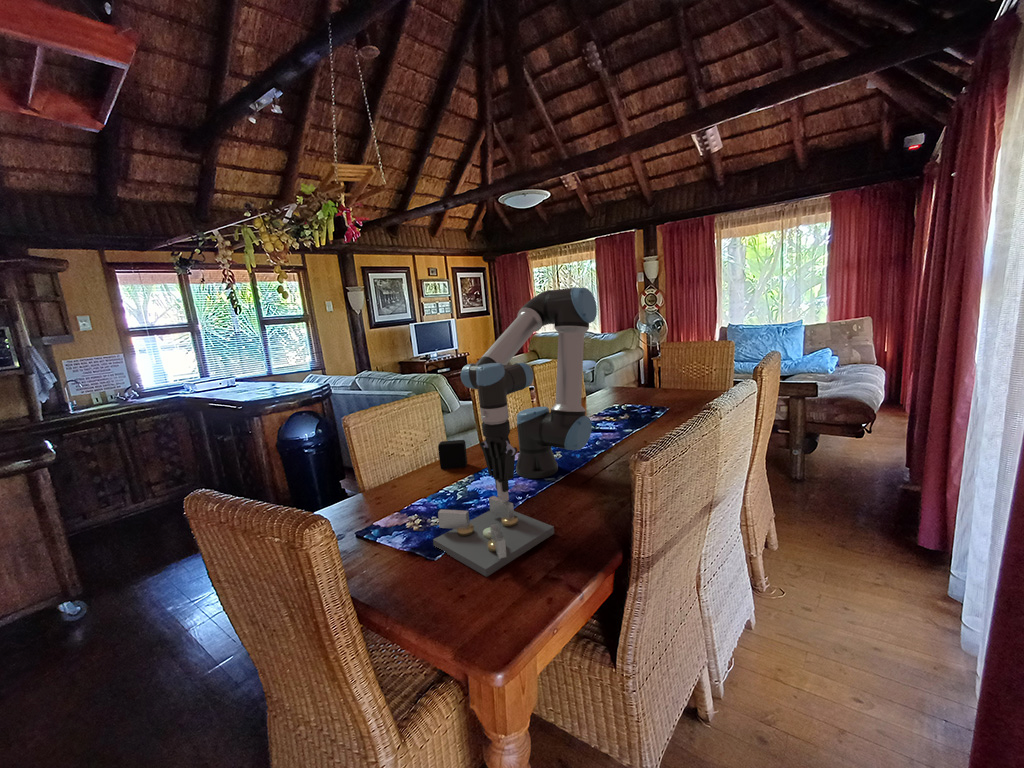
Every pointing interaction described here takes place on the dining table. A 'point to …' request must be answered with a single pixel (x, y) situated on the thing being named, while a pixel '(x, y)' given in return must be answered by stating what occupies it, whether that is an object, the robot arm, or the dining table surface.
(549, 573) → the dining table surface
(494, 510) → the knob
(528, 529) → the base plate
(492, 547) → the knob
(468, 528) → the knob
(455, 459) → the electronic device
